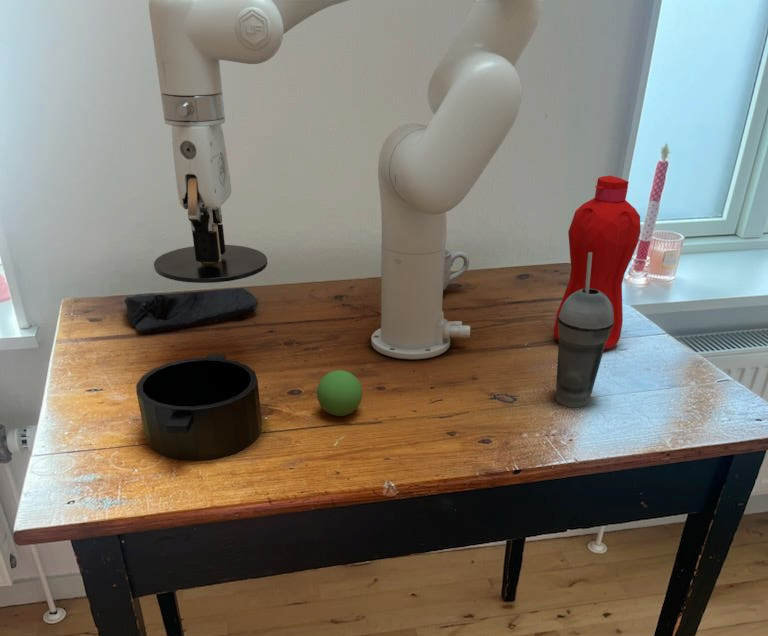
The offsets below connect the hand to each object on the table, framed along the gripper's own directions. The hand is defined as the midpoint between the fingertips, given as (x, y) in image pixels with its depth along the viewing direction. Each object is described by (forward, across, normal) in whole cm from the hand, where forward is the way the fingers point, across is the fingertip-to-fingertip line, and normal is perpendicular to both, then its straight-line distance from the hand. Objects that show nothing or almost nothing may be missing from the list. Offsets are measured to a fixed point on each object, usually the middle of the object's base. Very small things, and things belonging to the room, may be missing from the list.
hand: (211, 256), depth 105 cm
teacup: (+16, +33, -31) cm, 48 cm away
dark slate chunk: (+16, +20, +10) cm, 28 cm away
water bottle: (+16, +12, -57) cm, 61 cm away
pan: (+16, -21, -2) cm, 26 cm away
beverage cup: (+16, -9, -51) cm, 54 cm away
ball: (+13, -15, -19) cm, 28 cm away
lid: (+1, 0, 0) cm, 1 cm away
